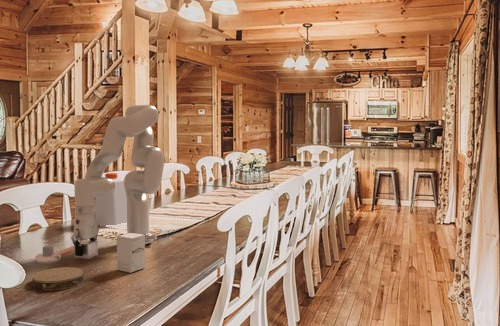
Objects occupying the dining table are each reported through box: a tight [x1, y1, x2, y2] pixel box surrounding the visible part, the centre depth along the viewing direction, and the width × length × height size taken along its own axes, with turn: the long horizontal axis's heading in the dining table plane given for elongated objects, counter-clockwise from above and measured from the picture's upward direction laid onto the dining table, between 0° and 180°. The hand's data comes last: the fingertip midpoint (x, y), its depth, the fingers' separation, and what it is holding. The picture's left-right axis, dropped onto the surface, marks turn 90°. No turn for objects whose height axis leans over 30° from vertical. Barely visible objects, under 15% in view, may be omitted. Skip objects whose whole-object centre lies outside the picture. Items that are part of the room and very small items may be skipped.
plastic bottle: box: [95, 172, 127, 227], centre depth 256 cm, size 15×15×28 cm
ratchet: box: [35, 244, 74, 265], centre depth 198 cm, size 9×26×6 cm, turn 164°
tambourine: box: [32, 266, 84, 291], centre depth 165 cm, size 16×16×3 cm
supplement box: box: [116, 233, 146, 273], centre depth 179 cm, size 7×7×13 cm
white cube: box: [73, 239, 99, 260], centre depth 196 cm, size 6×6×6 cm
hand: (86, 252), depth 196 cm, fingers open, 8 cm apart
